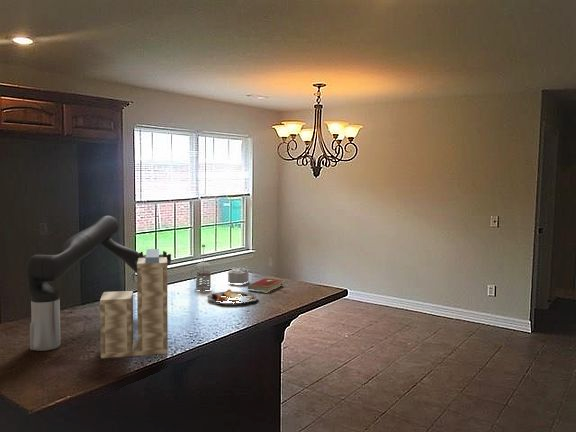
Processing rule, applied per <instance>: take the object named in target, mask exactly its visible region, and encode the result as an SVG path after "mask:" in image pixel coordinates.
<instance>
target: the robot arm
mask: <svg viewBox="0 0 576 432" xmlns="http://www.w3.org/2000/svg"><path fill="white" fill-rule="evenodd" d="M119 229H120V224H119V221H118V220H117V219H116V218H115V217H114V216H111V215H103V216H102V217H100V218H99V219H97V220H96V221H95V222H94V223H92V224H91V225H90V226H89V227H87V228H85V229H83V230H81V231H79V232H77V233H76V234H74V235H72V236H71V237H69V238H68V239H67V240H66V241H65V242H64V244H63V251H62V252H60V253H57V254H33V255H32V256H31V257H30V258H29V260H28V261H27V262H28V263H27V267H26V273H27V284H28V285H27V286H28V288H27V289H28V293H29V296H30V307H31V308H30V309H31V310H30V311H31V313H30V314H31V321H30V323H29V338H30V339H29V340H30V341H29V344H30V345H29V346H30V351H37V352H38V351H49V350H51V351H52V350H54V349H57V348H60V346H62V345H61V344H62V343H61V339H62V337H61V308H60V307H61V303H60V302H61V301H60V300H61V299H60V298H61V297H60V291H59V290H58V289H57V288H54V287H53V286H51V285H50V284H49V282H54V281H58V280H60V279H61V278H62V277H63V276H65V274H66V273H67V272H68V271H69V270H70V269H72V267H74V266H75V265H76V264H77V263H78V262H79V261H81V260H82V259H83V258H85V257H87V256H88V255H89V254H91V253H92V252H93V251H95V249H96V248H97V247H98V246H99V245H101V246H102V247H104V248H105V249H106V250H108V251H109V252H111V253H112V254H113V255H115V256H117V257H118V258H119V259H121V260H122V261H123V262H125V264H126V265H127V266H128V267H129V268H130V269H132V271H134V273H135V274H137V262H138V258H146V254H144V253H143V252H144V251H140V252H138V251H137V250H136V249H133V248H130V247H127V246H124V245H122V244H120V243H119V242H116V241H115V240H113V238H112V237H114V236H115V235H116V234H117V233H118V232H119ZM159 257H167V266H168V265H171V262H172V254H171V253H168V254H167V251H166V250H163V251H162V254H161V253H159Z"/></svg>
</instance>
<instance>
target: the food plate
mask: <svg viewBox="0 0 576 432" xmlns="http://www.w3.org/2000/svg"><path fill="white" fill-rule="evenodd" d="M238 294H241V295H242V296H243V297H244V296H251V297H246V298H249V299H248V300H246V301H249V300H251V299H254V300H252V301H249V302H245V303H244V302H242V303H244V304H248V303H251V302H255V301H257V300H258V298H259V297H258V296H257V294H255V293H253V292H252V293H251V292H245V291H235V290H234V291H232V290H231V289H227V290H225V291H219V292H214V293H211V294H209V295H207V297H206V298H207V300H208V301H211V302H214V303H215V302H216V301H221V302H223V301H227V300H228V298H229V297H230V298H235V297H239V298H240V297H241V295H238ZM221 296H226V297H221ZM227 297H228V298H227ZM241 298H242V297H241ZM236 299H238V298H236ZM229 301H232V302H235V303H234V304H239V305H242V304H241V303H236V301H239V300H229ZM239 302H241V301H239ZM216 303H219V304H218V305H227V304H232V305H231V306H234V305H233V303H220V302H216ZM216 303H215V304H216Z"/></svg>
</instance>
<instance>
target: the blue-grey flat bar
mask: <svg viewBox="0 0 576 432" xmlns="http://www.w3.org/2000/svg"><path fill="white" fill-rule="evenodd" d="M145 255H146V263H159V255H160V249H159V248H150V249H149V248H147V249H146V252H145Z"/></svg>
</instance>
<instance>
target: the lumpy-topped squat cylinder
mask: <svg viewBox="0 0 576 432" xmlns="http://www.w3.org/2000/svg"><path fill="white" fill-rule="evenodd" d="M249 274H250V273H249V270H248V269H247V268H245V267H243V268H242V267H238V268H234V267H232V269H230V270H228V272H227V275H228V276H227V280H228V281H227V283H228V282H230V283H244V282H247V281H248V282H249Z"/></svg>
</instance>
